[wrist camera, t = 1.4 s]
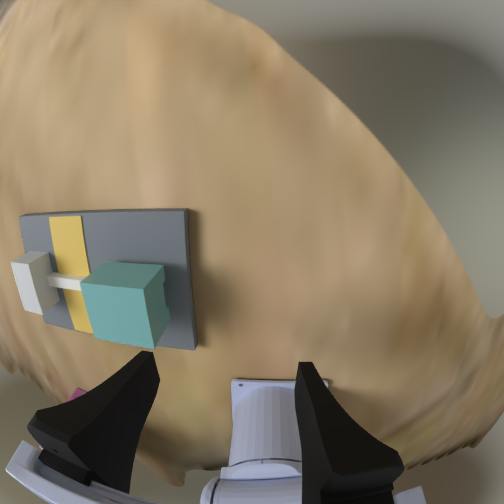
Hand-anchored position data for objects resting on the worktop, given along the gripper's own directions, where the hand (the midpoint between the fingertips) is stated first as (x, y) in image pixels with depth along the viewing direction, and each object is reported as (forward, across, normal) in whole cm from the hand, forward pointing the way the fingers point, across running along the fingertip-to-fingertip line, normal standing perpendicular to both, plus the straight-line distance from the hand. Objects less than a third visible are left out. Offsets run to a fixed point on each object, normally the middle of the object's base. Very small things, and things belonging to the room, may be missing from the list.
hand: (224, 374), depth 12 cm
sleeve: (+8, +8, 0) cm, 11 cm away
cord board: (+9, +13, 0) cm, 16 cm away
